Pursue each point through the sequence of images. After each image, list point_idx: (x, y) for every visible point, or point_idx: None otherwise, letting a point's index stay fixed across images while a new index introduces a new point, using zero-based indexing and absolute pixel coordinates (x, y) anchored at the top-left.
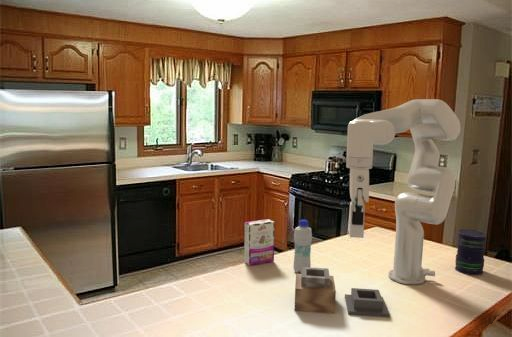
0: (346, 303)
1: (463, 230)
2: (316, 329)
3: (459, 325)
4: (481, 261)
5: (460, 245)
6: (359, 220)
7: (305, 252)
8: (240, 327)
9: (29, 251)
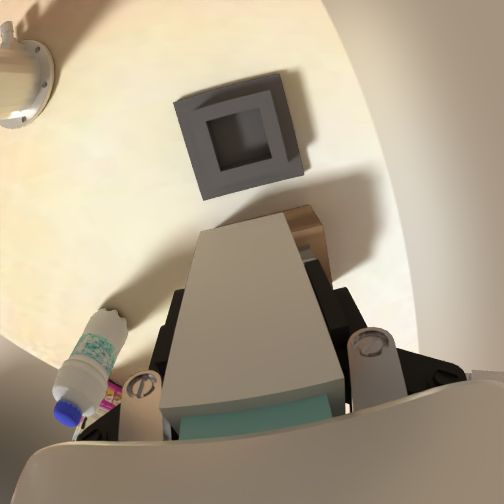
0: (252, 186)
1: None
2: (390, 227)
3: None
4: None
5: None
6: (351, 300)
7: (105, 350)
8: (403, 338)
9: None
